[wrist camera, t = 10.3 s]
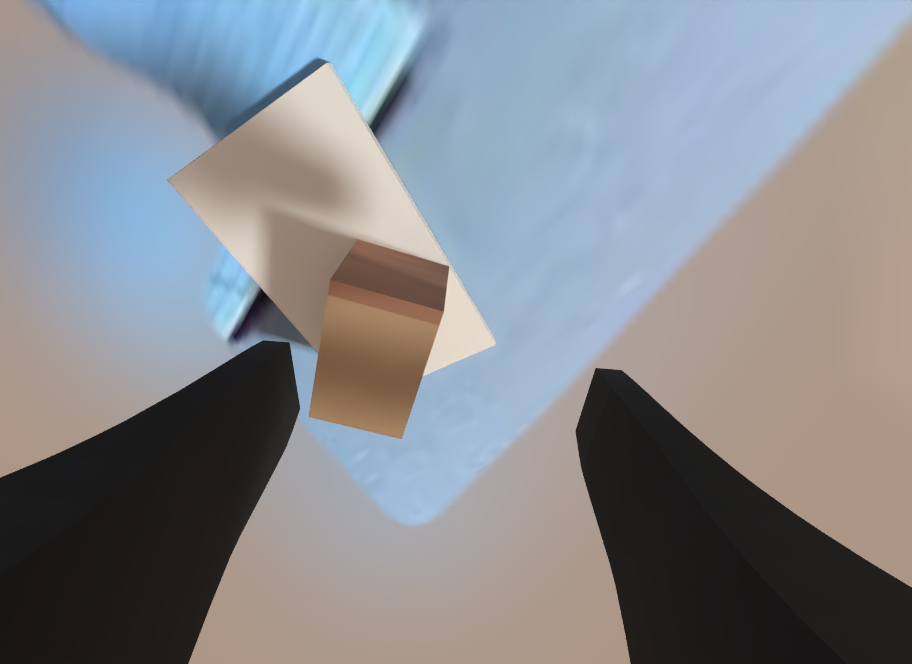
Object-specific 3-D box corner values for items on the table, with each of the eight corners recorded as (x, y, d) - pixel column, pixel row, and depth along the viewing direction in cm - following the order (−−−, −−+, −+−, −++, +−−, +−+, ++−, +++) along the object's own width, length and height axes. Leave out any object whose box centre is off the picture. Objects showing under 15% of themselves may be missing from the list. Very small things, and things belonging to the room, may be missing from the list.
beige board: (174, 177, 17) (167, 180, 16) (331, 63, 15) (327, 62, 14) (363, 396, 23) (361, 402, 22) (495, 339, 20) (495, 344, 20)
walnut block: (412, 380, 21) (401, 438, 18) (335, 360, 21) (308, 416, 17) (449, 266, 18) (443, 311, 14) (357, 239, 17) (330, 279, 14)
